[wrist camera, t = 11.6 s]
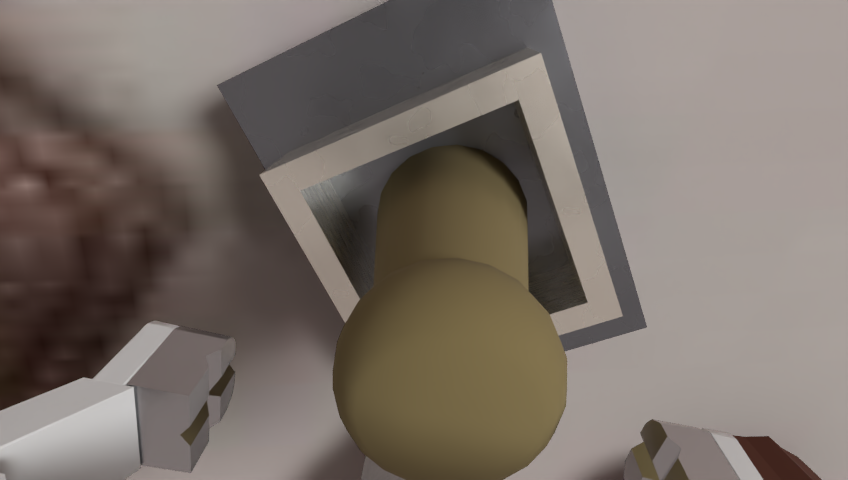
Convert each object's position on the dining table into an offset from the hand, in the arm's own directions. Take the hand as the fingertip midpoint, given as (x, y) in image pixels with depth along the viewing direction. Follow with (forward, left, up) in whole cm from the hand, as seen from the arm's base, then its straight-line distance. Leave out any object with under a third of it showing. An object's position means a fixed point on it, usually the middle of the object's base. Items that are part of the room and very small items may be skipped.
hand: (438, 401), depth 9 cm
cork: (+1, 0, -11) cm, 11 cm away
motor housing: (0, 0, -16) cm, 16 cm away
